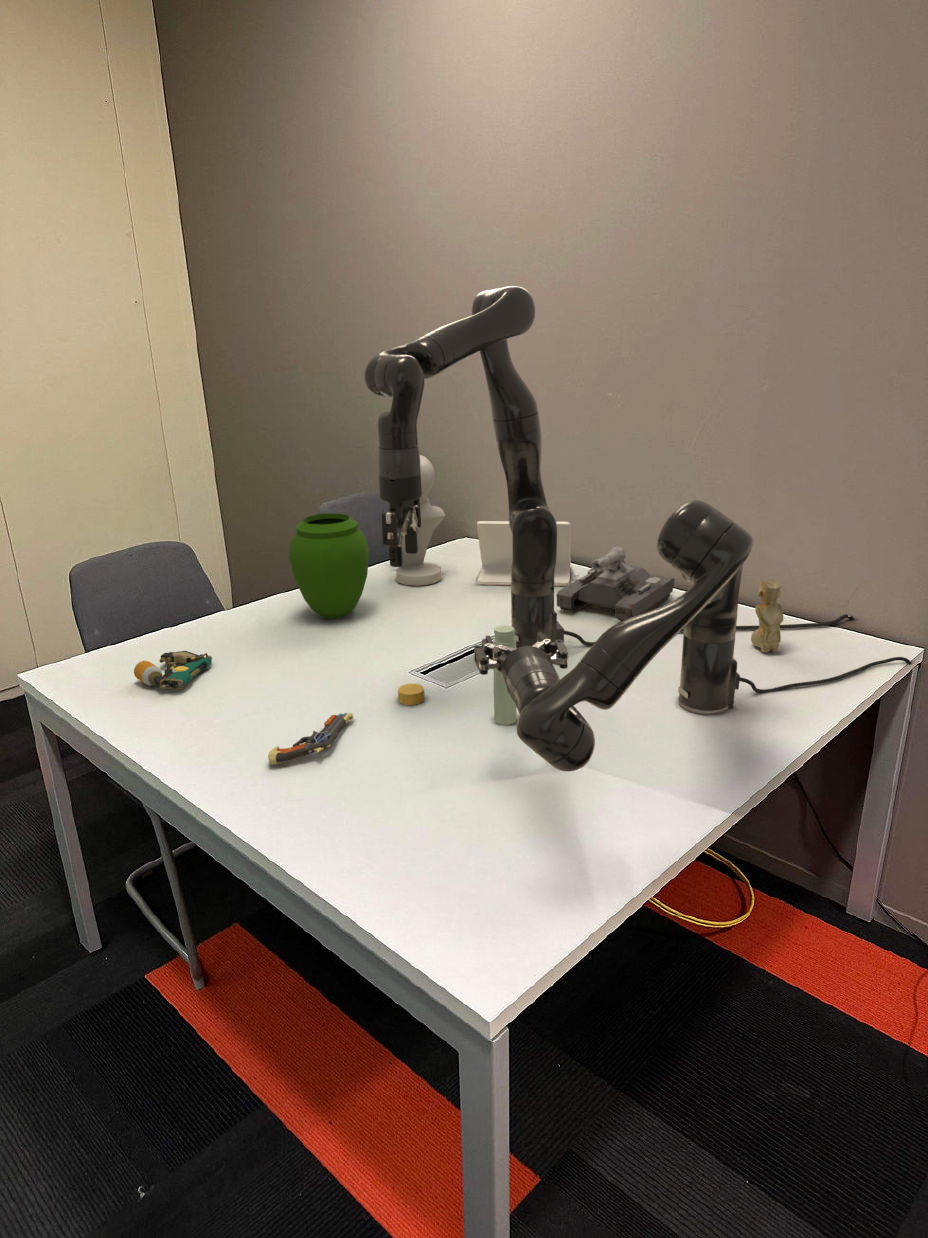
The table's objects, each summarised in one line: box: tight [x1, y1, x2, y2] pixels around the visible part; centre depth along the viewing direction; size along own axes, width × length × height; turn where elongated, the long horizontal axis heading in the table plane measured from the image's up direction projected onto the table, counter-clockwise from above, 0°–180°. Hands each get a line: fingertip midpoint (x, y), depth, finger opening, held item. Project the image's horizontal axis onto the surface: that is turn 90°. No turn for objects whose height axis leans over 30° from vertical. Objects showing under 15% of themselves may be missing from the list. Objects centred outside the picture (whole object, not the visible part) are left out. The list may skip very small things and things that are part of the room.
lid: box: [397, 683, 426, 706], centre depth 167 cm, size 5×5×2 cm
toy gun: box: [267, 712, 354, 765], centre depth 151 cm, size 3×19×10 cm
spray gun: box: [133, 650, 213, 690], centre depth 180 cm, size 4×17×15 cm
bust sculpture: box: [378, 454, 446, 587], centre depth 236 cm, size 16×24×35 cm, turn 28°
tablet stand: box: [476, 520, 572, 587], centre depth 236 cm, size 18×25×17 cm
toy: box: [556, 546, 676, 622], centre depth 212 cm, size 25×20×15 cm
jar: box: [492, 624, 518, 726], centre depth 155 cm, size 4×4×18 cm
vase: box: [288, 512, 370, 620], centre depth 209 cm, size 20×20×24 cm
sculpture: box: [750, 579, 784, 653], centre depth 183 cm, size 6×7×15 cm
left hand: (404, 559), depth 157 cm, fingers open, 8 cm apart
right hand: (513, 639), depth 140 cm, fingers open, 8 cm apart
